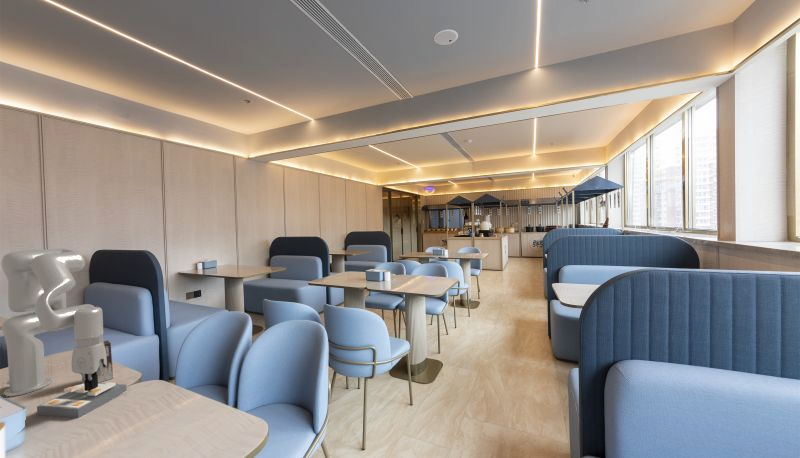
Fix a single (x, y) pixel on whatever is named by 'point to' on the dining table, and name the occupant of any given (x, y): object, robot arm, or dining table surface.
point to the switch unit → (78, 402)
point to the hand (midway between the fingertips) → (91, 388)
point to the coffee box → (109, 369)
